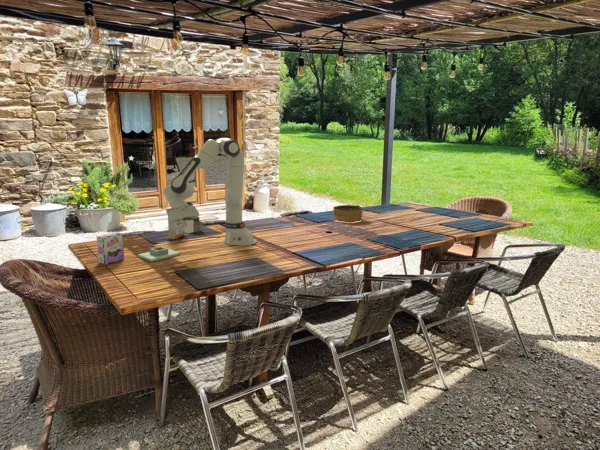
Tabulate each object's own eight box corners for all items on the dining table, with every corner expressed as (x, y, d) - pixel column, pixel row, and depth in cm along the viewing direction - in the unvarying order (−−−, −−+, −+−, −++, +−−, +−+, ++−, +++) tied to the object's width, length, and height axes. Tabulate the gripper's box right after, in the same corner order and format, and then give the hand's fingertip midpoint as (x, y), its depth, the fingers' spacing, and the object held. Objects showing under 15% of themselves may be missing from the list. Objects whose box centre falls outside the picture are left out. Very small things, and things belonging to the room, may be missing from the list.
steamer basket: (331, 222, 389) (331, 209, 387) (334, 217, 413) (334, 204, 411) (361, 224, 385) (362, 211, 383) (362, 218, 409) (363, 206, 407)
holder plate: (166, 250, 302) (166, 243, 301) (180, 254, 292) (179, 247, 291) (138, 256, 287) (137, 249, 286) (151, 261, 278) (151, 254, 277)
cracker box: (176, 239, 328) (175, 210, 323) (168, 239, 329) (166, 210, 324) (185, 235, 341) (183, 207, 337) (177, 234, 343) (176, 206, 338)
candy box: (104, 265, 270) (102, 237, 267) (98, 263, 273) (95, 236, 270) (124, 259, 282) (122, 232, 278) (118, 257, 285) (116, 231, 281)
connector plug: (189, 231, 294) (189, 217, 292) (193, 232, 292) (192, 218, 290) (184, 232, 291) (183, 218, 289) (188, 233, 289) (187, 219, 287)
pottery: (190, 225, 372) (189, 211, 369) (206, 231, 353) (205, 216, 351) (177, 227, 365) (176, 212, 362) (192, 233, 346) (191, 218, 344)
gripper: (166, 206, 285) (176, 224, 281) (194, 202, 300) (204, 219, 296) (163, 212, 289) (173, 230, 284) (190, 208, 304) (200, 225, 299)
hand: (189, 224), depth 290 cm, fingers closed on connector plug, 4 cm apart
